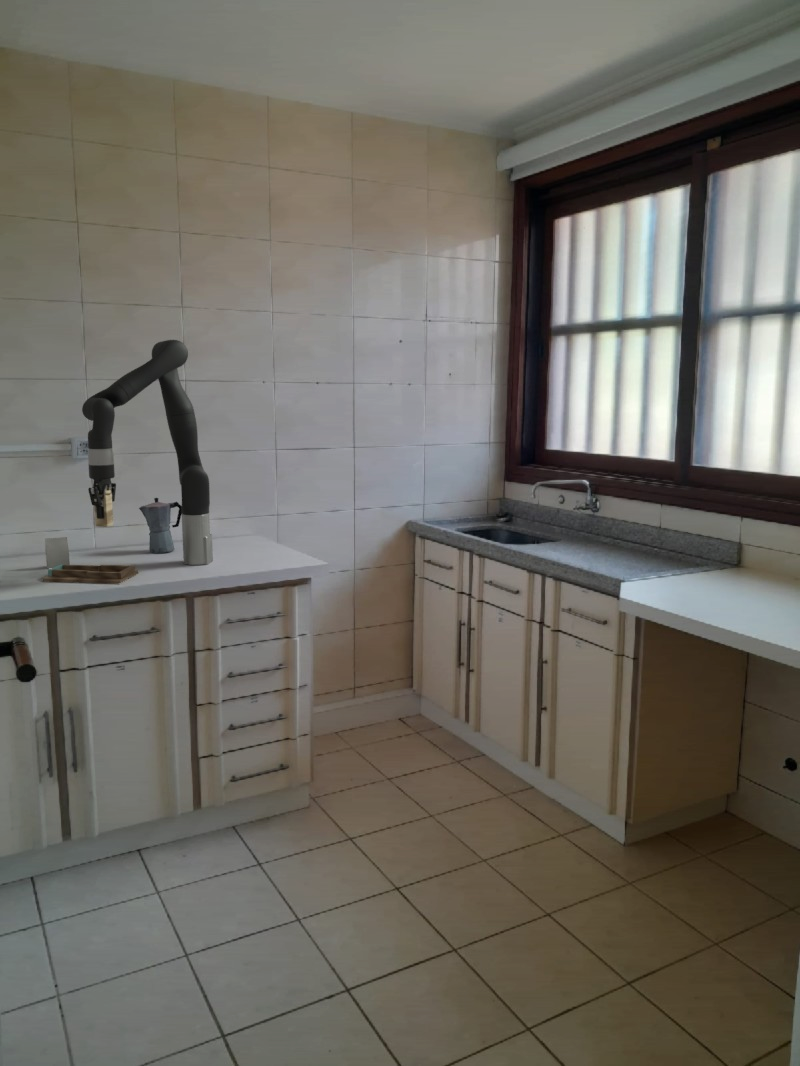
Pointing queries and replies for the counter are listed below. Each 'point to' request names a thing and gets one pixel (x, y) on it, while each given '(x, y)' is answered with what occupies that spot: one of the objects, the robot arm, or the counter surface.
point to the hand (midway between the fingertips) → (104, 517)
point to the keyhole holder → (90, 573)
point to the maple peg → (105, 511)
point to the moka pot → (160, 525)
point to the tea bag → (56, 552)
